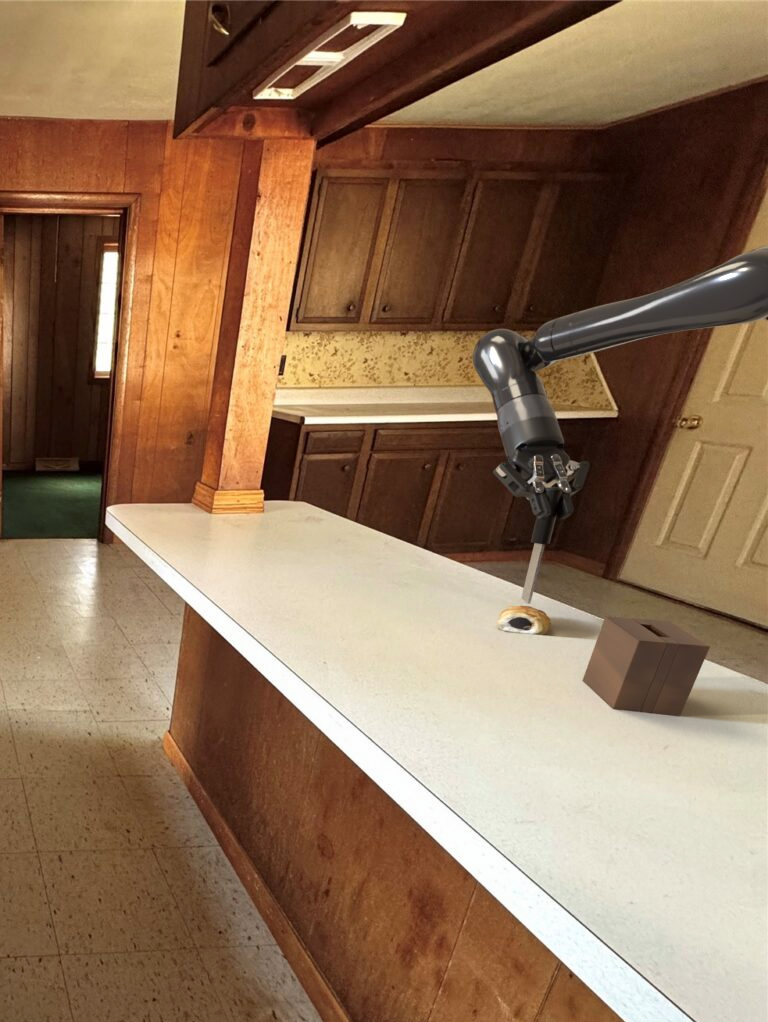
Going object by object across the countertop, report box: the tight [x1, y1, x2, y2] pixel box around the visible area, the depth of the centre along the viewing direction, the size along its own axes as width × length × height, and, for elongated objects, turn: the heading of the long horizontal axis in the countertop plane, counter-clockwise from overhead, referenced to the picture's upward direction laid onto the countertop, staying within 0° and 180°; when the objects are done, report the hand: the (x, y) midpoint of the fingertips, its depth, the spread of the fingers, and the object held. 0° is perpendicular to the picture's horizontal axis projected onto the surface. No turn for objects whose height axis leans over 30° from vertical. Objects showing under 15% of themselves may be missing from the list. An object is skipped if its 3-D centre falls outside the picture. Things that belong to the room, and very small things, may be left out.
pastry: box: [496, 605, 552, 636], centre depth 112 cm, size 9×7×4 cm
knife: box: [520, 487, 563, 605], centre depth 110 cm, size 2×3×19 cm
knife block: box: [582, 615, 711, 717], centre depth 88 cm, size 7×8×11 cm
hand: (555, 516), depth 106 cm, fingers closed on knife, 2 cm apart
